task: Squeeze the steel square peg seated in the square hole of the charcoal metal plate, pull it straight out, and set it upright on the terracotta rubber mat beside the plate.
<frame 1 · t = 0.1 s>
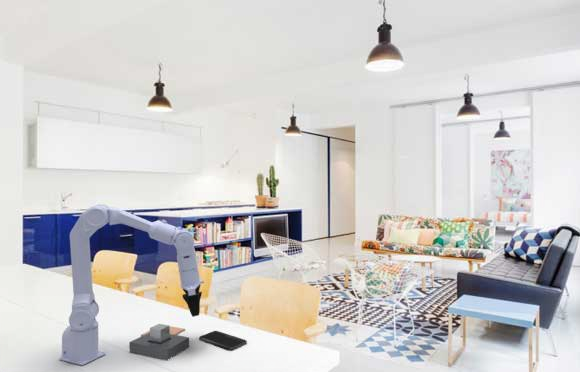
hand: (195, 311, 124), 10 cm above the table, tool pointing down, fingers open, 7 cm apart
phone: (222, 343, 127), on the table
steel peg: (159, 338, 120), in the socket plate
socket plate: (159, 349, 120), on the table
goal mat: (163, 333, 134), on the table
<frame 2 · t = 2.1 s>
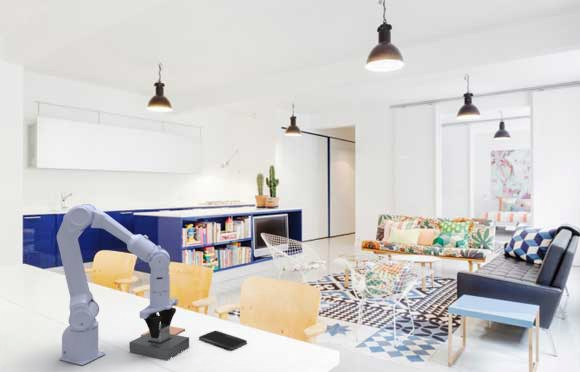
hand: (159, 335, 120), 4 cm above the table, tool pointing down, fingers closed on steel peg, 4 cm apart
steel peg: (159, 338, 120), in the socket plate, touching gripper
everything else where it was.
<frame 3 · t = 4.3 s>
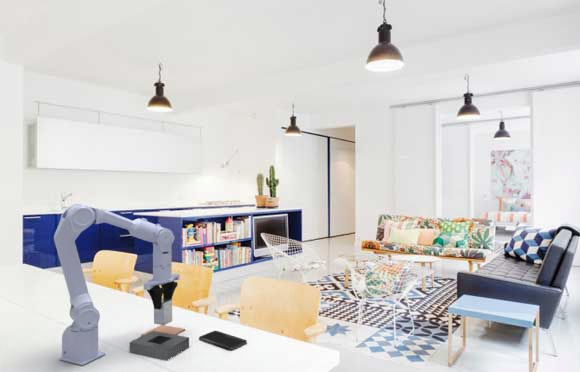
hand: (162, 306, 128), 10 cm above the table, tool pointing down, fingers closed on steel peg, 4 cm apart
steel peg: (163, 311, 128), point 9 cm above the table, touching gripper
everything else where it was.
when the fingers open (6 cm above the table, at t = 6.3 s): steel peg stays where it is, resting on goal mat.
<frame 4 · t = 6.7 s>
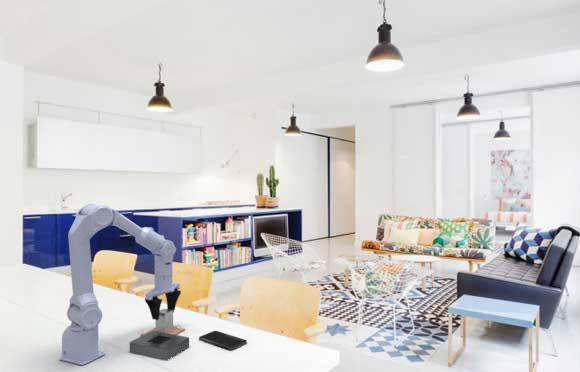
hand: (163, 315, 134), 6 cm above the table, tool pointing down, fingers open, 7 cm apart
steel peg: (164, 321, 133), on the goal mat
everything else where it was.
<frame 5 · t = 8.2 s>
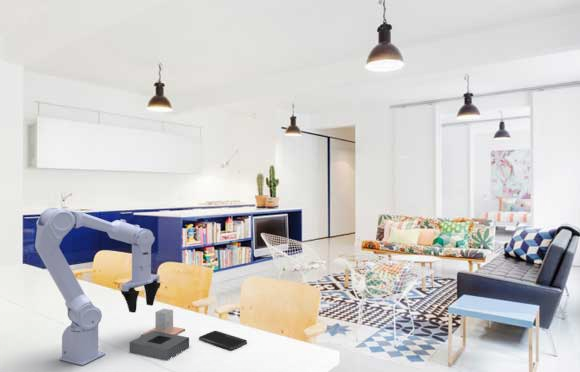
hand: (141, 308, 127), 10 cm above the table, tool pointing down, fingers open, 7 cm apart
nothing on the table moved.
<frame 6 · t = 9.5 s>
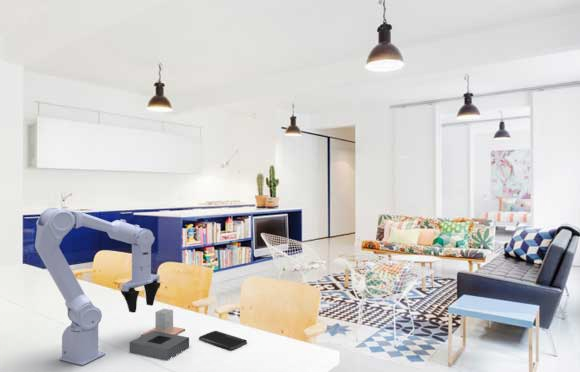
hand: (141, 308, 127), 10 cm above the table, tool pointing down, fingers open, 7 cm apart
nothing on the table moved.
at the end: steel peg inside the target area (0.4 cm from its centre), point 4.0 cm above the table; steel peg tilted 0°; the gripper is holding nothing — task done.
